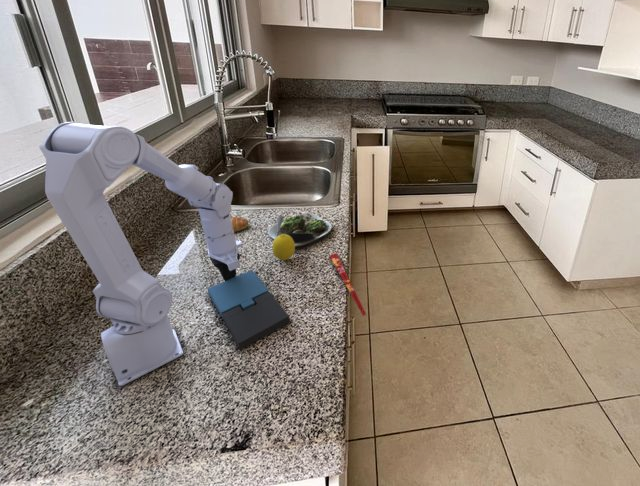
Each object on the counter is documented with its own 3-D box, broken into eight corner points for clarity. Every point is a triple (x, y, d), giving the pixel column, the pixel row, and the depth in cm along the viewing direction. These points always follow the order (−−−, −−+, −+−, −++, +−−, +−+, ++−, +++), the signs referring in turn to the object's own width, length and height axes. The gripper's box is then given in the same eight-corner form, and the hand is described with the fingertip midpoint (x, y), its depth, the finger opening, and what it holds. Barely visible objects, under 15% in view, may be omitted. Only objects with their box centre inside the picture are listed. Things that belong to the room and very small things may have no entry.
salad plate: (254, 230, 105) (251, 217, 103) (307, 211, 117) (305, 199, 116) (284, 258, 93) (281, 243, 91) (339, 233, 105) (338, 220, 103)
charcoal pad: (240, 350, 66) (238, 343, 65) (223, 320, 73) (221, 314, 72) (289, 322, 73) (288, 316, 72) (270, 297, 79) (269, 291, 79)
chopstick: (361, 317, 74) (361, 314, 74) (329, 257, 93) (329, 254, 93) (370, 314, 75) (370, 311, 75) (337, 255, 94) (336, 252, 94)
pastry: (250, 221, 110) (248, 210, 109) (246, 232, 104) (244, 221, 103) (218, 224, 108) (216, 213, 107) (212, 236, 102) (209, 225, 101)
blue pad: (225, 323, 72) (224, 317, 71) (209, 294, 80) (207, 288, 79) (272, 300, 79) (271, 294, 78) (253, 275, 86) (252, 269, 86)
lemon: (289, 251, 96) (286, 226, 93) (300, 259, 93) (297, 234, 90) (270, 259, 92) (266, 234, 89) (281, 269, 89) (277, 243, 86)
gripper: (249, 238, 76) (258, 287, 81) (227, 214, 85) (237, 259, 90) (213, 250, 71) (226, 301, 76) (195, 223, 81) (207, 270, 86)
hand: (230, 279), depth 83 cm, fingers closed
